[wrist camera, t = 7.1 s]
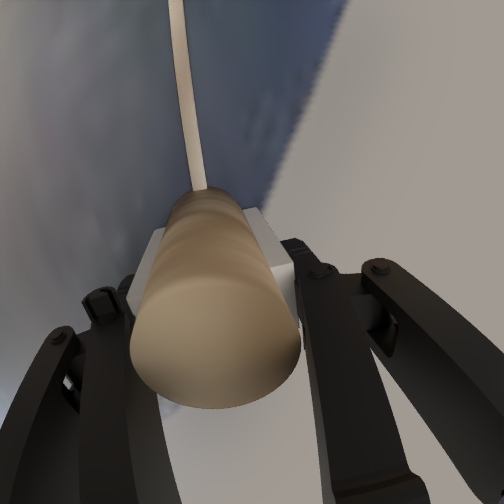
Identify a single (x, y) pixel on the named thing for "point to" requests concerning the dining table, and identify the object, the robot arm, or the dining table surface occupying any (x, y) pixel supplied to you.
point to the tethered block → (210, 290)
